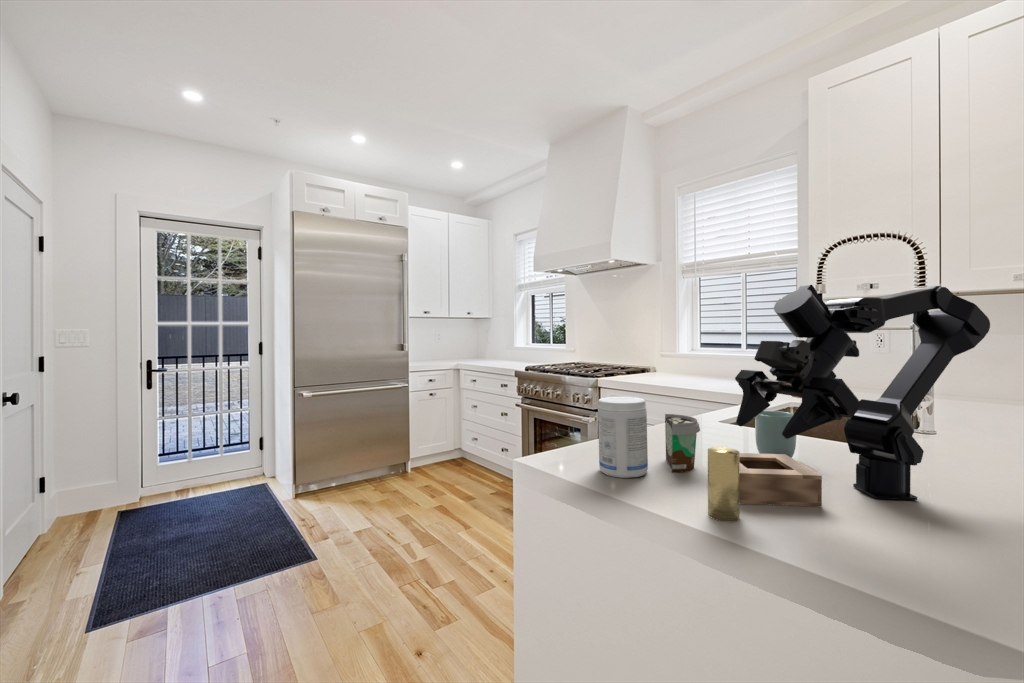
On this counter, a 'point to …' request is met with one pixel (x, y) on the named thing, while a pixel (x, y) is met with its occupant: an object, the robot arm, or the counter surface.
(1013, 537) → the counter surface
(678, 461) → the food container
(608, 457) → the supplement tub
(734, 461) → the brass cylinder
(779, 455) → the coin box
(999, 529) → the counter surface
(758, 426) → the cup
